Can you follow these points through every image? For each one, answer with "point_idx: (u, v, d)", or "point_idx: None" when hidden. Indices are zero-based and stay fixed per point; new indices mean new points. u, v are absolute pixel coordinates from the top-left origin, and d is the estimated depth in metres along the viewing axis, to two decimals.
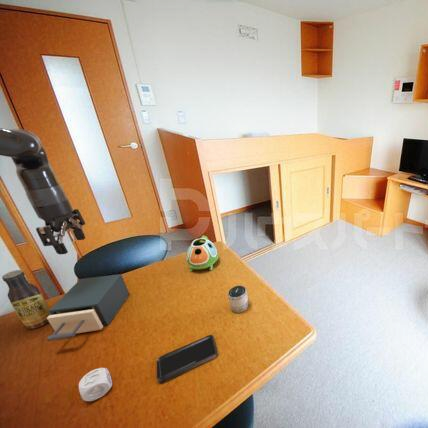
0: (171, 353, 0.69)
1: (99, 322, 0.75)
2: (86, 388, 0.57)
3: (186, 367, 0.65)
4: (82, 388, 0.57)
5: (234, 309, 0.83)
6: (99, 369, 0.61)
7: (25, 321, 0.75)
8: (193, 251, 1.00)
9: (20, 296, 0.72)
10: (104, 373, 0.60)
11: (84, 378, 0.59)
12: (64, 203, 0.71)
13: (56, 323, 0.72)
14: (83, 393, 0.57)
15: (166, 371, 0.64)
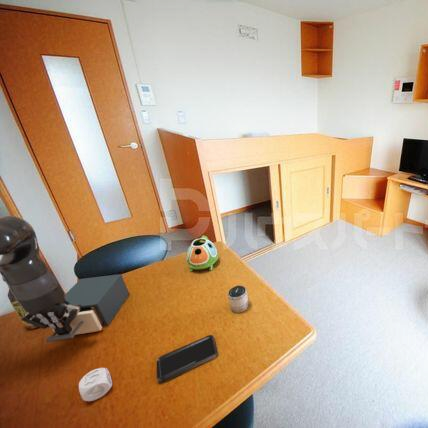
0: (171, 353, 0.69)
1: (98, 323, 0.75)
2: (86, 388, 0.57)
3: (186, 367, 0.65)
4: (82, 388, 0.57)
5: (234, 309, 0.83)
6: (99, 369, 0.61)
7: None
8: (193, 251, 1.00)
9: None
10: (104, 373, 0.60)
11: (84, 378, 0.59)
12: None
13: None
14: (83, 393, 0.57)
15: (166, 371, 0.64)
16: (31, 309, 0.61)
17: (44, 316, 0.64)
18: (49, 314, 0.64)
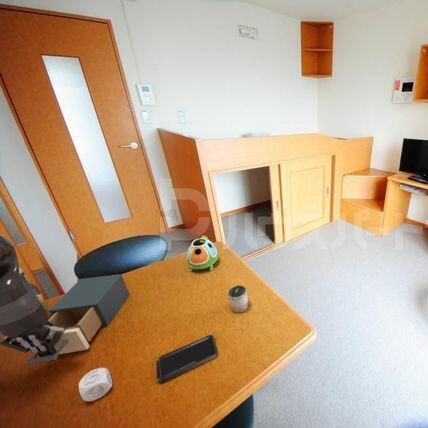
0: (171, 353, 0.69)
1: (85, 341, 0.69)
2: (86, 388, 0.57)
3: (186, 367, 0.65)
4: (82, 388, 0.57)
5: (234, 309, 0.83)
6: (99, 369, 0.61)
7: None
8: (193, 251, 1.00)
9: None
10: (104, 373, 0.60)
11: (84, 378, 0.59)
12: None
13: None
14: (83, 393, 0.57)
15: (166, 371, 0.64)
16: (9, 333, 0.55)
17: (25, 339, 0.59)
18: (30, 337, 0.59)
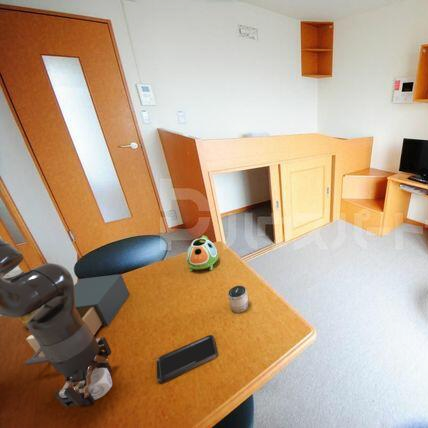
0: (171, 353, 0.69)
1: None
2: None
3: (186, 367, 0.65)
4: None
5: (234, 309, 0.83)
6: (99, 369, 0.61)
7: (25, 321, 0.75)
8: (193, 251, 1.00)
9: None
10: (104, 373, 0.60)
11: None
12: (89, 347, 0.54)
13: (37, 344, 0.65)
14: None
15: (166, 371, 0.64)
16: None
17: None
18: None
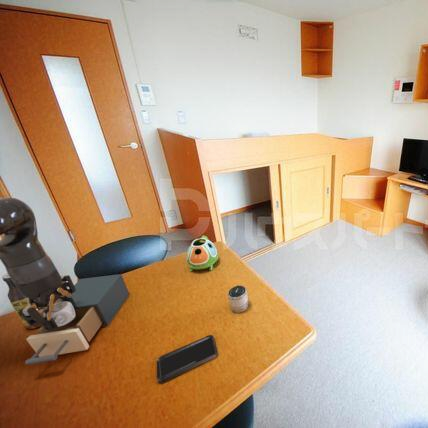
0: (171, 353, 0.69)
1: (85, 342, 0.69)
2: None
3: (186, 367, 0.65)
4: None
5: (234, 309, 0.83)
6: (63, 302, 0.69)
7: (25, 321, 0.75)
8: (193, 251, 1.00)
9: (20, 296, 0.72)
10: (67, 304, 0.69)
11: None
12: (51, 276, 0.63)
13: (37, 344, 0.65)
14: None
15: (166, 371, 0.64)
16: None
17: None
18: None
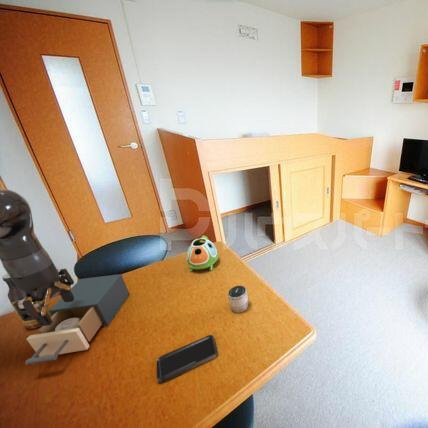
0: (171, 353, 0.69)
1: (85, 342, 0.69)
2: None
3: (186, 367, 0.65)
4: None
5: (234, 309, 0.83)
6: (73, 318, 0.72)
7: (25, 321, 0.75)
8: (193, 251, 1.00)
9: (20, 296, 0.72)
10: (77, 321, 0.72)
11: (60, 324, 0.70)
12: (47, 269, 0.62)
13: (37, 344, 0.66)
14: None
15: (166, 371, 0.64)
16: None
17: None
18: None
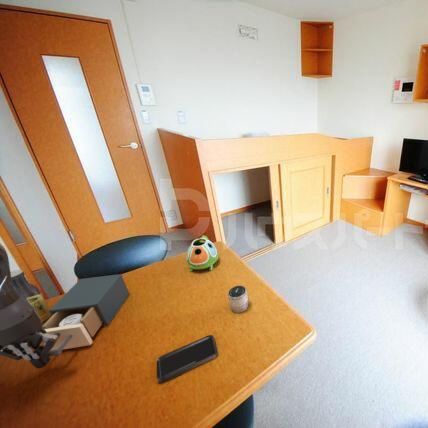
0: (171, 353, 0.69)
1: (88, 337, 0.71)
2: None
3: (186, 367, 0.65)
4: (61, 326, 0.70)
5: (234, 309, 0.83)
6: (77, 314, 0.74)
7: None
8: (193, 251, 1.00)
9: None
10: (80, 317, 0.73)
11: (64, 320, 0.72)
12: None
13: None
14: None
15: (166, 371, 0.64)
16: (0, 341, 0.53)
17: (16, 347, 0.57)
18: (22, 345, 0.57)
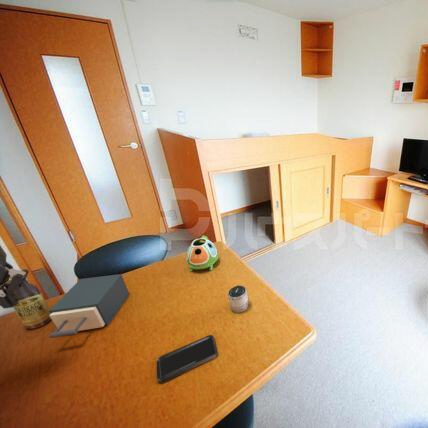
0: (171, 353, 0.69)
1: (101, 319, 0.76)
2: None
3: (186, 367, 0.65)
4: None
5: (234, 309, 0.83)
6: None
7: (25, 321, 0.75)
8: (193, 251, 1.00)
9: (20, 296, 0.72)
10: None
11: None
12: None
13: (58, 320, 0.72)
14: None
15: (166, 371, 0.64)
16: None
17: None
18: None
